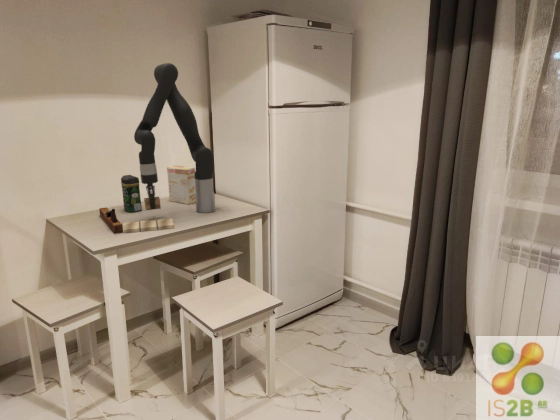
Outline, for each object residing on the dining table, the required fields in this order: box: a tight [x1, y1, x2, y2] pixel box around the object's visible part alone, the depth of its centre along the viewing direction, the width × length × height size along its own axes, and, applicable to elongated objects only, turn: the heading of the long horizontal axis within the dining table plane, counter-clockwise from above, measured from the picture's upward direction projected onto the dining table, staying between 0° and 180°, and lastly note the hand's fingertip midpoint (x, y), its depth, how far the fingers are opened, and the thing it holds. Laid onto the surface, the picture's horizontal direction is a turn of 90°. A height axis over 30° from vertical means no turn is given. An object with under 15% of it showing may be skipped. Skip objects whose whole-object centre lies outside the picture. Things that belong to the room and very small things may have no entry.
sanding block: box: [143, 196, 162, 211], centre depth 212 cm, size 7×4×5 cm, turn 109°
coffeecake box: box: [166, 165, 196, 205], centre depth 245 cm, size 15×7×20 cm, turn 58°
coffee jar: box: [120, 174, 143, 213], centre depth 228 cm, size 10×8×19 cm
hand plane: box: [99, 207, 124, 235], centre depth 208 cm, size 34×5×10 cm, turn 34°
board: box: [122, 217, 175, 234], centre depth 203 cm, size 22×11×2 cm, turn 108°
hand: (152, 207), depth 213 cm, fingers closed on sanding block, 4 cm apart
